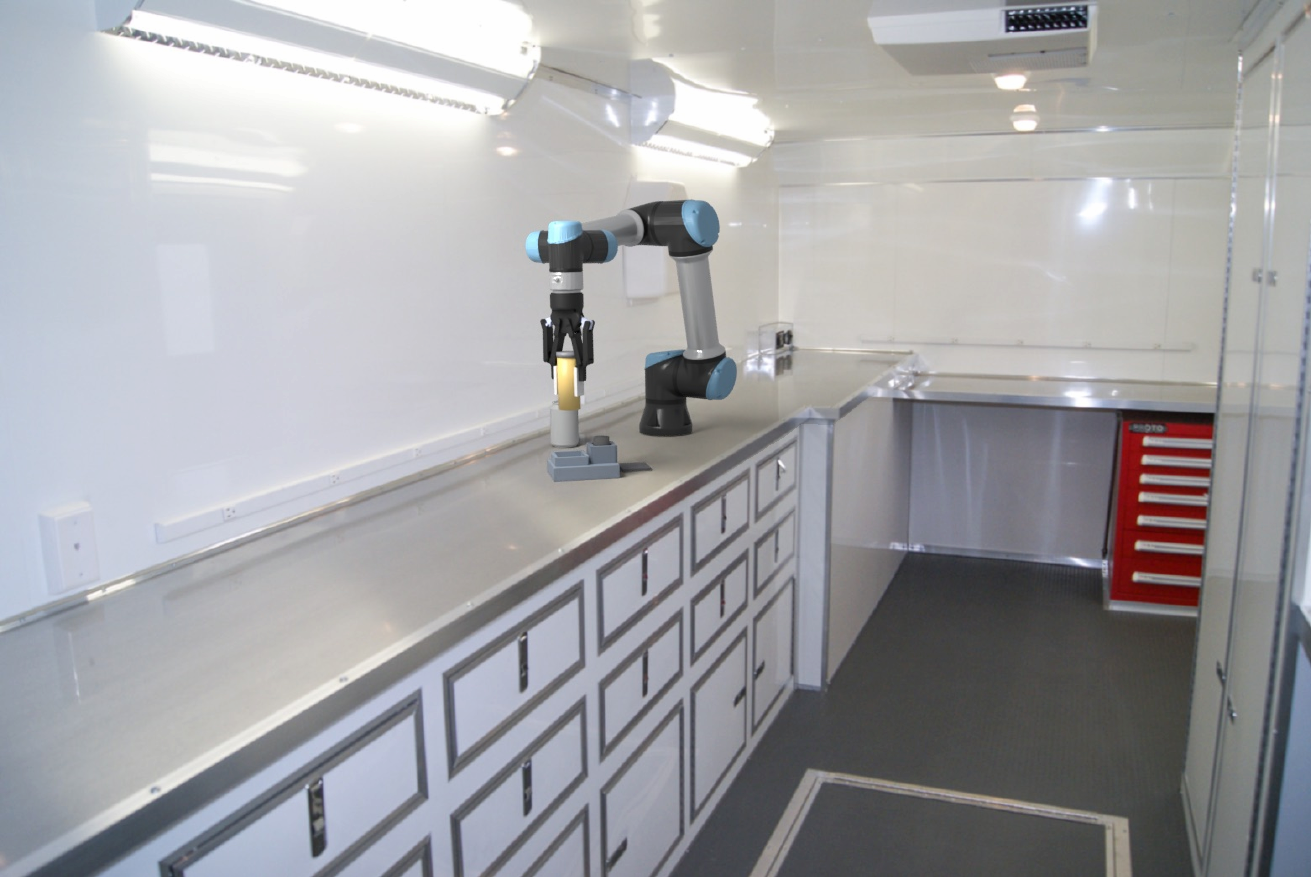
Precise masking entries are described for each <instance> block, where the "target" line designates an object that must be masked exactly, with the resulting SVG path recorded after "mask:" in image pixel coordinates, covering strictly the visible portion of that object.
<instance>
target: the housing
mask: <svg viewBox="0 0 1311 877" xmlns="http://www.w3.org/2000/svg"><path fill="white" fill-rule="evenodd" d="M585 447H586V451H585V450H581V449H578V450H577V449H576V450H558V451H557V450H555V451H550V458H547V459H546V469H547V470H546V471H547V473H548V475H549V477H551V479H552V480H553V482H554V483H557V482H572V481H588V480H591V481H592V480H605V479H606V480H607V479H620V478H621V477H620V476H621V475H620V471H621V470H620V467H619V464H618V445H617V444H616V443H615V442H614V441H612V440H611V441H610V440H609V445H605V446H594V441H588V442H587V441H586V446H585Z"/></svg>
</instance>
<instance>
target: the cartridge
mask: <svg viewBox="0 0 1311 877" xmlns="http://www.w3.org/2000/svg"><path fill="white" fill-rule="evenodd" d="M556 357H557V372H558V395H557V399H558V400H557V401H558V408H559V410H564V411H573V410H578V411H579V410H581V396H578V397H576V396H575V392H574V367H575V366H576V365H577V364H576V360H575V355H574V351H573V350H562V351H559V352H556Z"/></svg>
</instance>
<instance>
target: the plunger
mask: <svg viewBox="0 0 1311 877" xmlns="http://www.w3.org/2000/svg"><path fill="white" fill-rule="evenodd" d="M609 441H610V436H609V435H595V436H593V442H594V446H605V445H609Z"/></svg>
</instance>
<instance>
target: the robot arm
mask: <svg viewBox="0 0 1311 877" xmlns="http://www.w3.org/2000/svg"><path fill="white" fill-rule="evenodd" d="M720 228H721V225H720V220H719V217H718V214H717V212H716V210H715V208H714V206H712V205H711V204H710V203H709V202H707V201H706V200H695V199H692V198H691V199H681V200H680V199H679V200H678V199H677V200H676V199H675V200H657V201H651V202H648V203H644V204H640V205H637V206H633V207H631V208H630V207H629V208H626V209H622V210H620V211H619V212H618V213H617V214H616V215H614V216H613V215H612V216H609V217H604V218H600V219H596V220H591V221H587V222H582V223H581V221H579V220H554V221H553V220H552V221H551V222H550V223H549V224H548V230H544V229H541V230H538V231H537V230H535V231H532V232H531V233H529V235H528V236H527V238H526V239H525V246H524V247H525V252H526V255H527V258H528V259H529V260H530V261H531V262H534V263H538V264H539V263H540V264H543V265H545V264H548V269H549V270H548V271H549V273H548V274H549V275H548V277H549V290H550V291H552V292H550V294H549V307H550V310H551V313H550V316H549V317H547V318H541V319H540V325H541V329H542V361H543V362H544V363H547V364H549V365H550V372H551V379H552V380H553V393H554V395H555V396H558V372H557V357H556V352H559V351H564V350H563V349H564V346H565V345H564V344H565V340H566V339H565V338H566V336H567V335H568V337H569V339H570V341H571V346H572V351H574V355H575V360H576V364H577V365H576V366H575V367H574V392H575V396H576V397H578V396H580V397H582V396H585V382H586V381H587V367H588V366H590V365H592V364H594V363H595V357H594V356H595V354H594V353H595V352H594V327H595V323H596V321H595V320H594V319H588V318H585V315H584V313H583V311H584V307H585V305H584V304H585V303H584V299H585V298H584V293H583V292H582V290H584V270H583V268H584V265H585V264H600V265H602V264H605V263H610V262H611V261H613V260H614V259H615V258H616V256H617V253H618V251H619V250H618V248H619V246H625V247H628V248H632V247H636V246H648V247H649V246H651V247H654V246H655V247H667V250H668V256H669V258H671V259H672V260H673V261H675V265H676V273H677V280H678V281H677V282H678V288H679V295H680V303H681V308H682V317H683V324H684V330H685V338H686V345H687V347H686V349H672V350H664V351H657V352H649V353H648V354H646V356H645V361H644V362H645V363H644V391H645V392H644V394H645V395H644V398H645V400H644V401H645V402H644V403H645V405H644V407H643V408H644V409H643V412H642V415H641V418H640V421H639V426H638V429H639V430H638V431H639V433H640V434H642V435H646V436H652V437H653V436H655V437H676V436H678V437H680V436H685V435H690V434H692V433H693V431H694V430H693V429H694V428H693V427H694V426H693V422H692V419H691V416H690V412H689V410H688V405H687V398H690V399H702V400H708V401H713V400H714V401H715V400H716V401H722V400H724V399H726V398H727V397H729V395H730V394H731V393H732V391H733V389H734V387H735V385H736V382H737V376H738V375H737V374H738V369H737V363H736V362H735V360H734V359H733V358H731V357H729V356H728V357H727V352H726V347H725V346H724V345H722V344H721V343H720V340H719V332H718V326H717V325H718V324H717V317H716V309H715V301H714V295H713V294H714V293H713V284H712V277H711V269H710V262H709V256H710V255H711V254H712V252H713V251H714V246H713V245H715V244H716V243H717V242H718V239H719V237H720V234H719V233H720V231H721V230H720ZM581 328H582V329H581Z"/></svg>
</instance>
